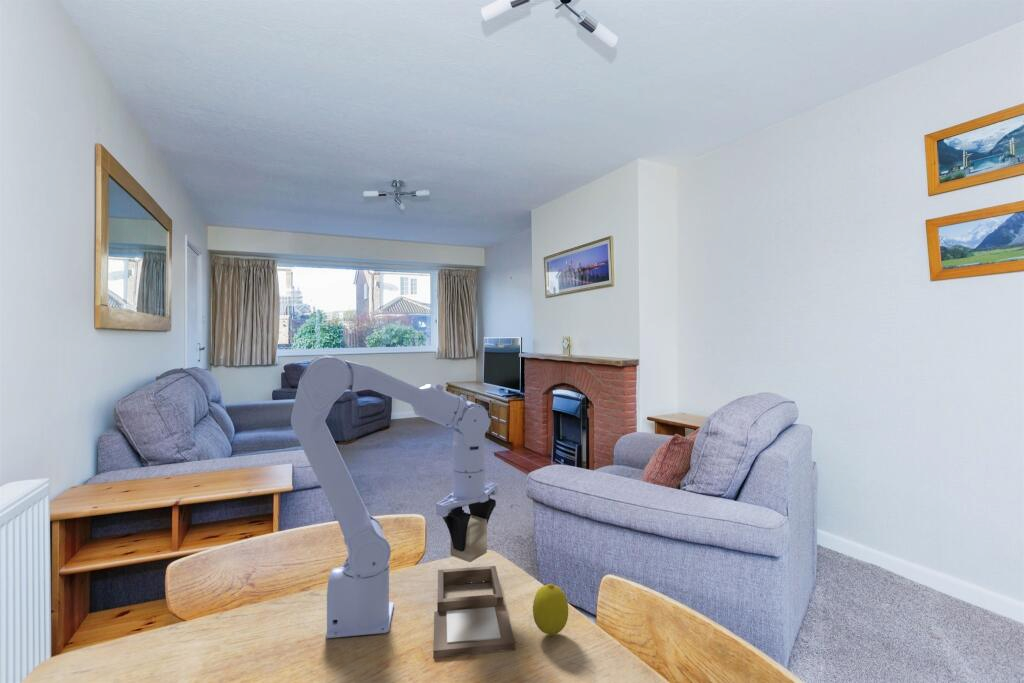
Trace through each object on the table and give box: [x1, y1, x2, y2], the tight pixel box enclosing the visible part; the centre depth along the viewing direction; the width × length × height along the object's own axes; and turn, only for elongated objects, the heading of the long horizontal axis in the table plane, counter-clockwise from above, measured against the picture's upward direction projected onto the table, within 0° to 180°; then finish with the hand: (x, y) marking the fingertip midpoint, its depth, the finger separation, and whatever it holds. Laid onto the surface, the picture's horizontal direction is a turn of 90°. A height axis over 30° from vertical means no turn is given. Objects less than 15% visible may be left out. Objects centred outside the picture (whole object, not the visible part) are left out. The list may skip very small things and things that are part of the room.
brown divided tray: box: [432, 565, 516, 658], centre depth 78 cm, size 12×21×2 cm, turn 9°
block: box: [450, 515, 488, 563], centre depth 83 cm, size 5×5×6 cm
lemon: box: [532, 583, 569, 637], centre depth 72 cm, size 6×6×8 cm
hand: (468, 544), depth 83 cm, fingers closed on block, 5 cm apart
